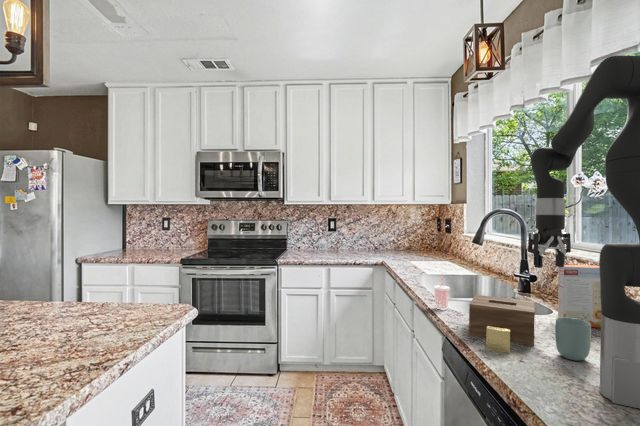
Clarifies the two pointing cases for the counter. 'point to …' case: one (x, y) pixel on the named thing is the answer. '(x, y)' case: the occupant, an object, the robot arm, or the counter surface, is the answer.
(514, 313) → the coin box
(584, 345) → the cup
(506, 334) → the block
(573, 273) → the cracker box
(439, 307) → the beverage cup
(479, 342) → the counter surface
